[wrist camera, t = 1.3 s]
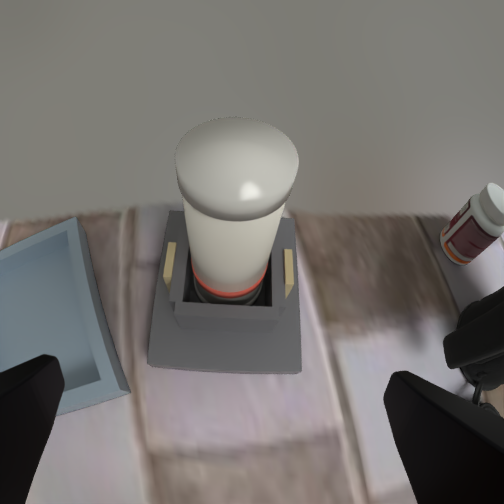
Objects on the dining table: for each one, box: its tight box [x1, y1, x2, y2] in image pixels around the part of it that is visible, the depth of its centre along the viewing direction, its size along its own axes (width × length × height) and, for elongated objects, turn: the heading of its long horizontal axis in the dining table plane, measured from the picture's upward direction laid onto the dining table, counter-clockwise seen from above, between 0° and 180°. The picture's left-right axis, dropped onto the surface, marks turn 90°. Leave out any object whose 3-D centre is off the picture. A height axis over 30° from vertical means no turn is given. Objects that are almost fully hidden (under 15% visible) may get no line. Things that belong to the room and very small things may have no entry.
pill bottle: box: [440, 183, 504, 265], centre depth 24 cm, size 5×5×8 cm
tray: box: [0, 217, 131, 416], centre depth 18 cm, size 14×12×2 cm
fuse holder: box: [147, 211, 302, 374], centre depth 21 cm, size 12×10×5 cm
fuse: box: [175, 117, 299, 306], centre depth 16 cm, size 5×5×12 cm
